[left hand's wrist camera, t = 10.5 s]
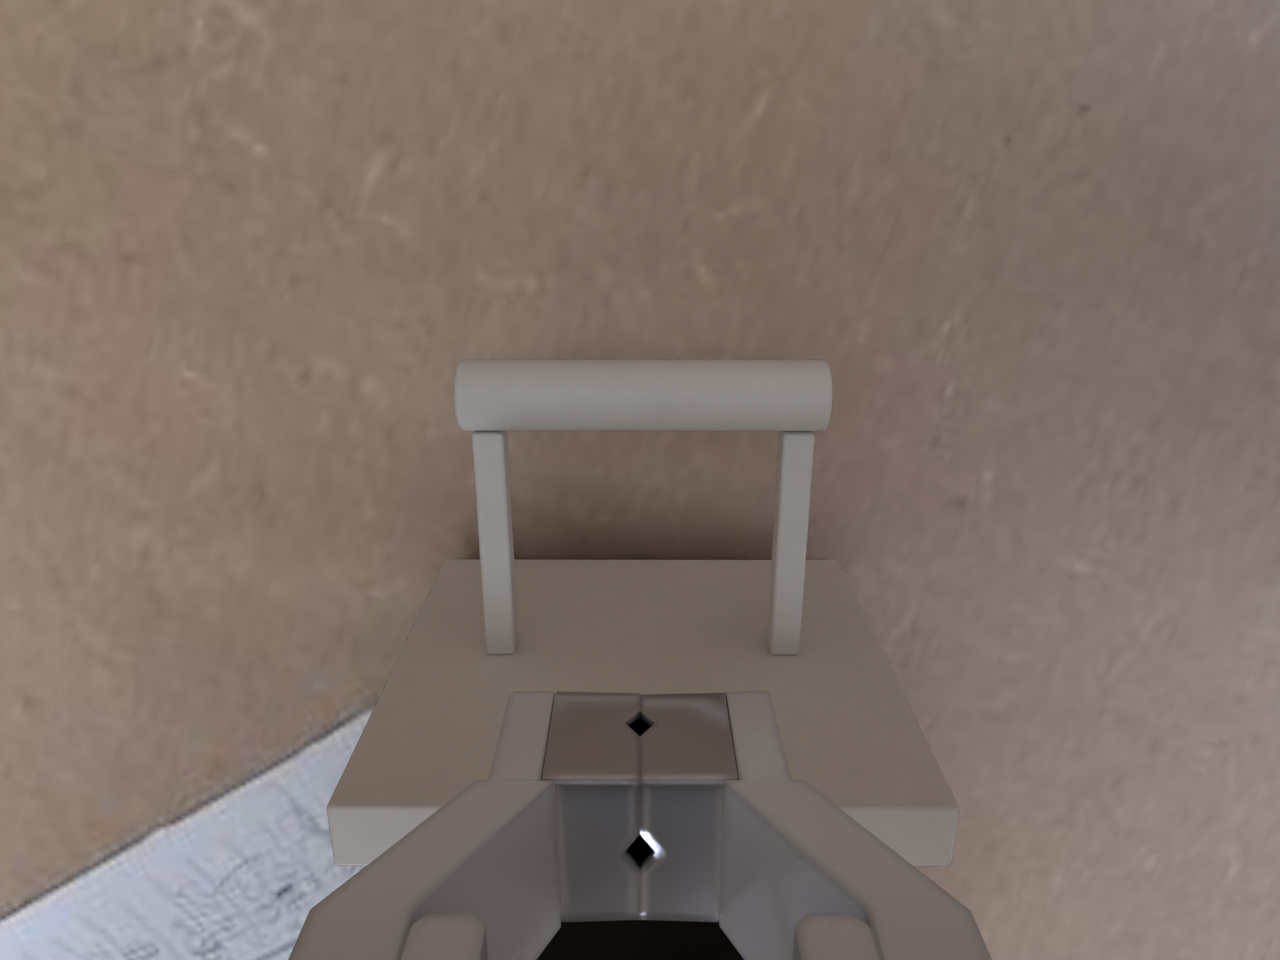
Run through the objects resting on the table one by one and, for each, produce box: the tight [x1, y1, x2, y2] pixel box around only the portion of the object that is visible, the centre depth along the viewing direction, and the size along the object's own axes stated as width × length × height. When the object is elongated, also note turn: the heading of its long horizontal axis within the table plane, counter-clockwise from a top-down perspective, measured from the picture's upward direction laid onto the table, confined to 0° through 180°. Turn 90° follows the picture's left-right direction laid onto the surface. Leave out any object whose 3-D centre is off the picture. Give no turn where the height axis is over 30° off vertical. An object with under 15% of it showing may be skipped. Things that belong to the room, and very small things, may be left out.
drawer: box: [327, 359, 960, 960], centre depth 20 cm, size 23×10×9 cm, turn 0°
